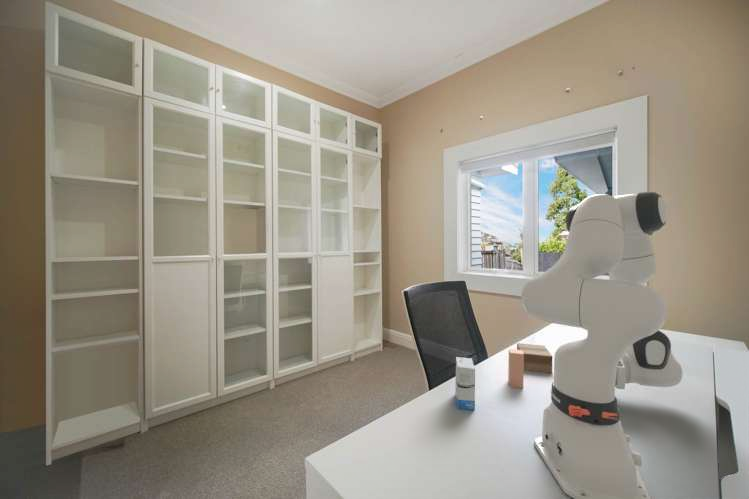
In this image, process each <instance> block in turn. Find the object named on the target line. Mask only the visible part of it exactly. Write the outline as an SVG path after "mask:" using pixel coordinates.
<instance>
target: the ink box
mask: <svg viewBox="0 0 749 499" xmlns="http://www.w3.org/2000/svg"><path fill="white" fill-rule="evenodd" d="M454 390H455V391H454V393H455V394H454V396H455V401H456V407H457V409H459V410H460V409H461V410H470V411H475V409H476V406H475V405H476V367H475V365H474V361H473V358H470V357H469V358H468V357H461V356H456V357H455V389H454Z"/></svg>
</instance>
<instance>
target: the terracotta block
mask: <svg viewBox="0 0 749 499" xmlns="http://www.w3.org/2000/svg"><path fill="white" fill-rule="evenodd" d="M524 371H525V370H524V354H523V352H522V350H517V348H516V349H513V348H508V371H507V372H508V374H507V375H508V377H507V378H508V379H507V381H508V384H509V387H513V388H521V389H524Z"/></svg>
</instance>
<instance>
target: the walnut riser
mask: <svg viewBox="0 0 749 499" xmlns="http://www.w3.org/2000/svg"><path fill="white" fill-rule="evenodd" d="M516 350H522V352H523V354H524V369H525V370H526V371H532V372H540V373H551V374H552V373H553V355H552V354H551V352H550V351H549V350H548V349H547V347H546V346H545V345H539V344H529V343H528V344H527V343H518V342H516ZM525 370H524V371H525Z"/></svg>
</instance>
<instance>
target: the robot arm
mask: <svg viewBox="0 0 749 499" xmlns="http://www.w3.org/2000/svg"><path fill="white" fill-rule="evenodd" d="M668 216H669V208H668V204H667V203H666V201H665V199H664V198H663V197H662V195H660V194H658V193H657V192H656V191H655V192H654V191H644V192H642V191H641V192H640V191H639V192H637V193H633V194H632V193H631V194H622V195H615V196H613V195H609V194H604V193H603V194H601V193H600V194H599V193H598V194H593V195H590V196H588V197H586V198H584V199H583V200H582V201H581V202H580V203H578V204H576V205H574V206H572V207H570V208H569V210H568V211H567V213H566V214H565V224H566V228H567V231H568V236H567V241H566V244H565V247H564V249H563V253H562V254H561V256H560V257H559V259H558V260H557V262H556V263H554V264H553V265H552V266H551V267H549V269H547V270H545V271H544V272H542V273H540V274H538V275H536V276H534V277H531V278H530V279H528V280H527V281H526V282H525V284H523V285H524V286H523V288H522V290H521V292H520V300H521V304H522V308H523V309H524V311H525V312H526V313H527V315H528V316H529V317H532V318H535V319H537V320H540V321H543V322H547V323H549V324H555V325H561V326H567V327H573V328H579V329H583V330H585V331H587V336H586V337H585V338H584V339H580V340H575V341H571V342H567V343H565V344H562V345H560V346H559V347H558V348H557V349H556V351H555V352H554V357H553V358H554V360H553V362H554V363H553V364H554V365H553V382H552V383H551V388H550V394H551V395H550V399H551V402H550V404H549V405H548V406H546V407H545V408H544V409H543V417H542V418H543V419H542V427H541V428H542V430H541V436H539V437H536V438H534V441H533V444H534V447H535V448H536V451H537V452H538V453H539V455H540V456H541V458H542V460H543V461H544V463H545V464H546V466H547V468H548V469H549V471H550V473H551V474H552V475H553V477H554V479H555V480H556V482H557V483H558V484H559V487H560V488H561V489H562V492H563V493H565V495H567V496H568V497H571V498H573V499H652V498H651V496H650V494H649V491H648V490H647V487H646V485H645V483H644V480H643V478H642V476H641V473H640V472H639V469H638V467H642V464H643V462H642V456H641V454H640V453H639V452H637V451H634V450H631V449H630V446H629V443H631V436H630V435H629V434H625V431H624V429H623V426H622V421H621V420H620V408H619V407H620V406H619V404H618V399H617V396H616V393H615V392H616V389H618V390H625V388H626V384H637V385H639V386H643V387H644V386H646V387H656V388H657V387H658V388H670V387H674V386H677V385H679V384H680V383H681V381H682V378H683V368H682V365H681V363H680V362H678V361H677V359H676V357H675V356H674V354H673V352H672V344H671V340H670V338H669V337H668V336H667V335H666V334H665V333H664V332H662V331H661V328H662V327H663V325H664V324H665V322H666V320H667V314H668V312H667V306H666V302H665V300H664V299H663V297H662V296H661V295H660V293H659V292H658V291H657V290H656V289H654V288H653V287H652V286H648V285H644V284H646V283H648V282H649V281H651V280H652V279H653V278H654V276H655V275H656V268H657V263H656V262H657V261H656V257H655V256H656V255H655V252H654V251H655V250H654V246H653V243H652V240H651V237H650V236H651V235H653V234H654V232H657V231H659V230H661V229H662V228H663V227H664V226H665V225H666V223H667V218H668ZM607 274H608V277H609V279H601V278H600V279H599V278H597V277H600V276H603V275H607Z"/></svg>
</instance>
